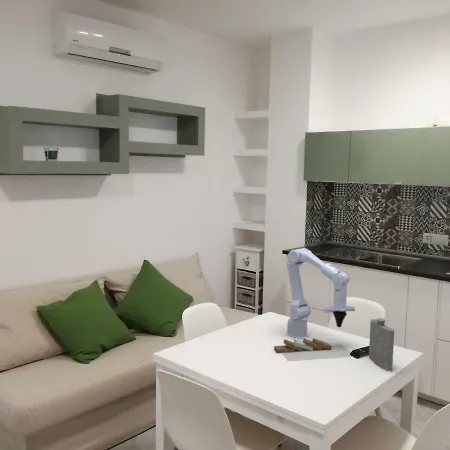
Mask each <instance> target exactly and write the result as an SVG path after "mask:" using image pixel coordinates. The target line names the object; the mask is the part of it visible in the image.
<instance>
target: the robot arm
mask: <svg viewBox="0 0 450 450" xmlns="http://www.w3.org/2000/svg"><path fill="white" fill-rule="evenodd" d="M287 259H288V260H287V272H288V277H289V278H288V279H289V284H290V289H291V296H292V301H291V303H290V306H289V309H290V310H289V315H290V317H289V318H288V320H287V326H286V328H287V329H286V331H287V332H286V336H287V337H291V338H293V339H296V340H300V341H301V340H302V341H303V339H307V338H309V337H311V334H308V318H309V316H311V308H310V305H309V303H308V300H307V299H305V297H304V289H303V285H302V278H301V273H300V267H301V266H302V264H303V263H305V262H307V263H310V264H311V265H313V266H314V267H316V268H318V269H320V271H321V274H322V275H324V276H325V277H327V278H328V279H330V281H331V282H332V284H333V305H332V306H328V307H327V306H326V307H324V308H323V312H324V313H326V314H327V313H332V314H333V316H334V317H333V318H334V319H335V324H336V327H337V328H342V325H343V322H344V319H345V318H346V317H347V312H356V307H355V306H353V305H352V306H351V305H350V306H349V305H347V293H348V292H347V291H348V290H347V289H348V283H349V282H350V275H349V273H347V271H341V269H338V268H337V267H335V266H333V263H325V262H324V261H323V260H321V259H320V258H319V257H317V256H316V255H315V254H313V253H312V251H311V250H309V249H308V248H306V247H302V248H298V249H292V250H290V251H289V252H288V254H287Z"/></svg>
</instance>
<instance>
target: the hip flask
mask: <svg viewBox="0 0 450 450" xmlns="http://www.w3.org/2000/svg"><path fill="white" fill-rule="evenodd" d="M394 343H395V329H394V328H391V327H389V326H387V325H386V319H385V318H380V317H378V318H374V319H373V318H372V319H370V327H369V344H368V345H369V348H368V358H369V360H370V361H371V362H373V364H375V365H376V366H378V367H379V368H381V369H383V370H384V371H385V372H391V371H393V363H394V345H395V344H394Z"/></svg>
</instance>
